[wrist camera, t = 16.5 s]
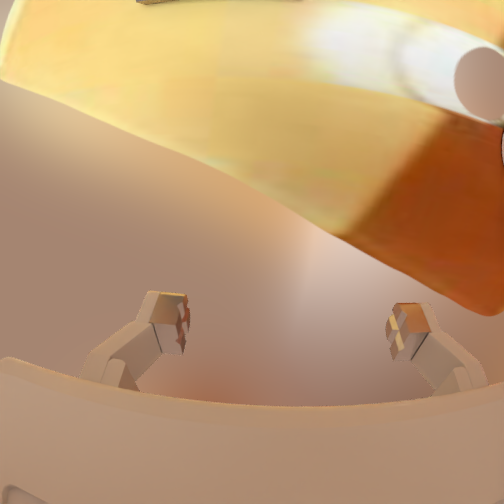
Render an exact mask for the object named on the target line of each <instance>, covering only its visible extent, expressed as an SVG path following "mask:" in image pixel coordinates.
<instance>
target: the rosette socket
mask: <svg viewBox="0 0 504 504" xmlns="http://www.w3.org/2000/svg"><path fill="white" fill-rule="evenodd" d="M167 1H175V0H136V2H138V3H141V4H145V5H147V4H154V3H160V2H167Z"/></svg>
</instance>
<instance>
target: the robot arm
mask: <svg viewBox="0 0 504 504" xmlns="http://www.w3.org/2000/svg"><path fill="white" fill-rule="evenodd" d="M502 157H503V163H504V134H503V140H502ZM187 304H188V298H187V295H186V294H177V293H169V292H158V291H148V293H147V294H146V296H145V298H144V301H143V303H142V306H141V308H140V311H139V313H138V316H137V318H136V321H131V322H130V323H128V324H127V325H126V326H124V327H123V328H121V329H120V330H119V331H117V332H116V333H115V334H113V335H112V336H111V337H109V338H108V339H107V340H106V341H104V342H103V343H101V344H100V345H98V346H97V347H96V348H94V349H93V350H92V351H90V352H89V354H88V356H87V358H86V361H85V363H84V366H83V368H82V370H81V373H80V375H79V377H78V378H77V377H73V376H69V375H66V374H62V373H59V372H56V371H52V370H49V369H46V368H43V367H39V366H36V365H33V364H30V363H27V362H25V361H22V360H19V359H16V358H13V357H5V358H3V359H1V360H0V504H504V382H501V383H497V384H493V385H489V384H488V381H487V379H486V376H485V373H484V370H483V368H482V366H481V363H480V362H479V361H478V360H476V359H475V358H474V357H473V356H472V355H471V354H470V353H469V352H468V351H467V350H465V349H464V348H463V347H462V346H461V345H460V344H459V343H457V342H456V341H455V340H454V339H453V338H452V337H450V336H449V335H448V334H447V333H446V332H442V330H441V328H440V326H439V323H438V321H437V318H436V317H435V314H434V312H433V309H432V307H431V305H430V304H429V303H396V304H395V305H394V307H393V309H392V311H393V315H391V316H390V317H389V318H388V320H387V323H386V329H385V330H386V337H387V340H388V341H390V342H391V347H390V352H391V355H392V359H393V361H411V363H412V364H413V365H414V366H415V367H416V369H418V371H419V372H420V373H421V375H422V376H423V377H424V378H425V379H426V381H427V382H428V383H429V384H430V385H431V387H432V388H433V389H434V390H435V391H434V393H433V394H432V395H431V396H430V397H427V398H420V399H413V400H405V401H397V402H387V403H376V404H362V405H345V406H312V407H293V406H291V407H289V406H259V405H241V404H228V403H217V402H207V401H198V400H190V399H182V398H175V397H168V396H161V395H156V394H150V393H144V392H140V390H139V389H138V387H137V385H136V383H135V381H136V380H137V379H138V378H139V377H140V376H141V375H142V374H143V373H144V372H145V371H146V370H147V369H148V368H149V367H150V366H151V365H152V364H153V363H154V362H155V361H156V360H157V359H158V358H159V357H160V356H161V355H162V353H163V354H173V355H183V353H184V349H185V344H186V339H185V335H186V334H187V333H188V332H189V327H190V310H189V309H188V308H187Z"/></svg>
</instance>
